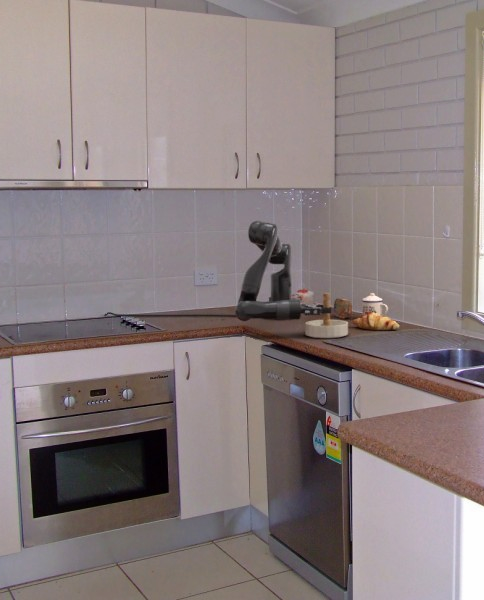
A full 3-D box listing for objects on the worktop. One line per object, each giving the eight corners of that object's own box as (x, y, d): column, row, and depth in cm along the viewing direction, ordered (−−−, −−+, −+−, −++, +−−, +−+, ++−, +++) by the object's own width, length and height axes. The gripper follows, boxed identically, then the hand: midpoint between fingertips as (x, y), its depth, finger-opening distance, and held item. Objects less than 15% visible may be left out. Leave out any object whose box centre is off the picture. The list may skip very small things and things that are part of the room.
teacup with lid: (358, 320, 366) (358, 293, 365) (367, 317, 374) (367, 291, 373) (383, 322, 361) (383, 295, 359) (392, 319, 369) (392, 293, 367)
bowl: (297, 337, 323) (297, 324, 322) (317, 331, 338) (316, 318, 337) (337, 340, 316) (337, 327, 316) (354, 333, 332) (354, 321, 331)
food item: (303, 311, 394) (303, 290, 392) (288, 310, 397) (288, 290, 395) (316, 308, 406) (316, 287, 405) (301, 307, 409) (301, 287, 408)
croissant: (401, 337, 341) (405, 319, 344) (393, 329, 333) (397, 310, 335) (354, 333, 350) (359, 315, 353) (345, 325, 342) (350, 306, 344)
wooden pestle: (319, 334, 326) (318, 293, 324) (323, 332, 330) (323, 292, 328) (329, 335, 324) (329, 294, 322) (334, 333, 328) (333, 292, 326)
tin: (333, 315, 381) (333, 297, 380) (339, 315, 382) (339, 296, 381) (346, 320, 367) (346, 301, 366) (353, 319, 369) (353, 300, 368)
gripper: (289, 302, 316) (332, 301, 319) (286, 298, 330) (327, 297, 333) (289, 322, 317) (332, 321, 320) (286, 316, 331) (327, 315, 334)
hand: (329, 308), depth 326 cm, fingers open, 8 cm apart
